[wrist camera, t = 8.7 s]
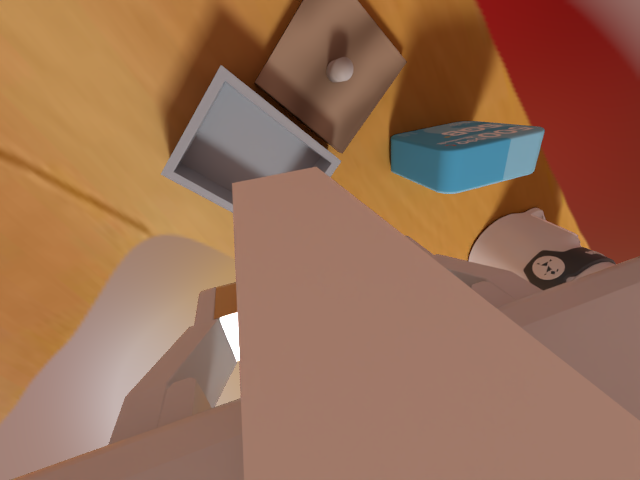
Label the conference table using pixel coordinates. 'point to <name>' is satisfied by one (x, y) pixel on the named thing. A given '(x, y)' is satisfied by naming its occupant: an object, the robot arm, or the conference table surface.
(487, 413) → the strut
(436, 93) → the conference table surface
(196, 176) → the bin
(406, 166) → the data package
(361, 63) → the stud plate
